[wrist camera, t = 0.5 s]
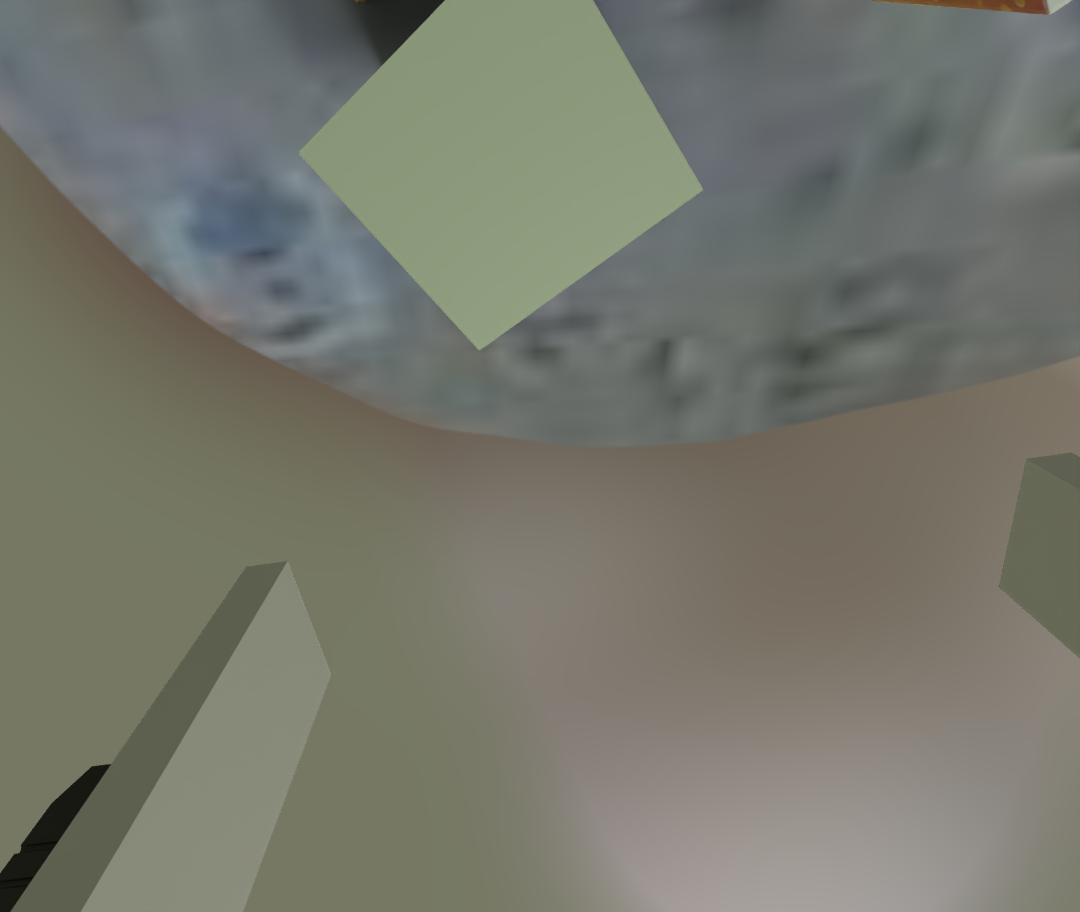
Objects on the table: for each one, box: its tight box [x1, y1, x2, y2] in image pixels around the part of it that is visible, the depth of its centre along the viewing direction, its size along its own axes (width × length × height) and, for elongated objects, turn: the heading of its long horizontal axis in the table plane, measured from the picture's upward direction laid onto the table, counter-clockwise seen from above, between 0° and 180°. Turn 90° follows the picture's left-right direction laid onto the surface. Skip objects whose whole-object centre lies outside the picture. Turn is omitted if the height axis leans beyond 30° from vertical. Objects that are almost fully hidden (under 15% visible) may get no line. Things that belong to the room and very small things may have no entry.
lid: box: [299, 0, 703, 350], centre depth 24 cm, size 11×10×3 cm
